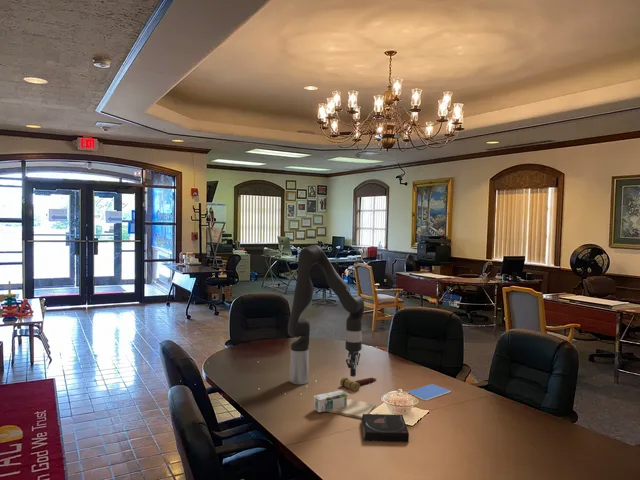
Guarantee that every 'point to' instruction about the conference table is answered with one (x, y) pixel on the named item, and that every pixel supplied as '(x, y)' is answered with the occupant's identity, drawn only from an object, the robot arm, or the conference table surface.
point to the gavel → (355, 383)
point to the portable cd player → (384, 428)
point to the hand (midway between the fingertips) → (353, 375)
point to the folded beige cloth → (354, 409)
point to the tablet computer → (429, 392)
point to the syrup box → (330, 401)
